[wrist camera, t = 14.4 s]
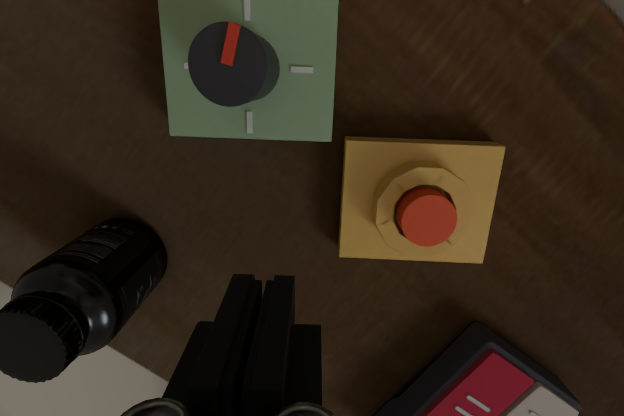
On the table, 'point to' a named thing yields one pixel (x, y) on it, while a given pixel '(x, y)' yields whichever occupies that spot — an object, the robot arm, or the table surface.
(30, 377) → the supplement bottle
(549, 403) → the calculator
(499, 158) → the tan flat block
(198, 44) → the lock dial
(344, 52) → the table surface
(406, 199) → the button
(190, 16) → the dial panel
